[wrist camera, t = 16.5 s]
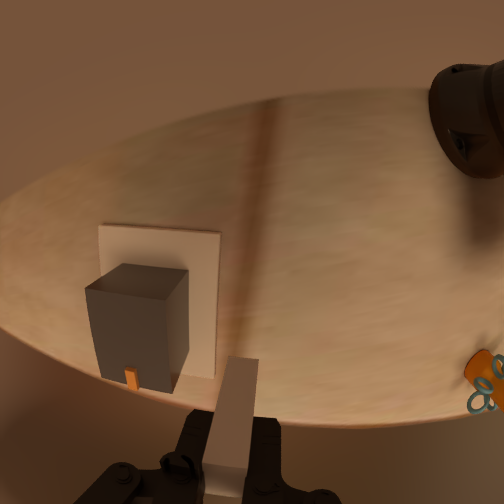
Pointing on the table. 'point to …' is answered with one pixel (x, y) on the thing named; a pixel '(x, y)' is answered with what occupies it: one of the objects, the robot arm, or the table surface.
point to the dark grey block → (140, 325)
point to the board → (177, 257)
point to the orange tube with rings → (486, 380)
